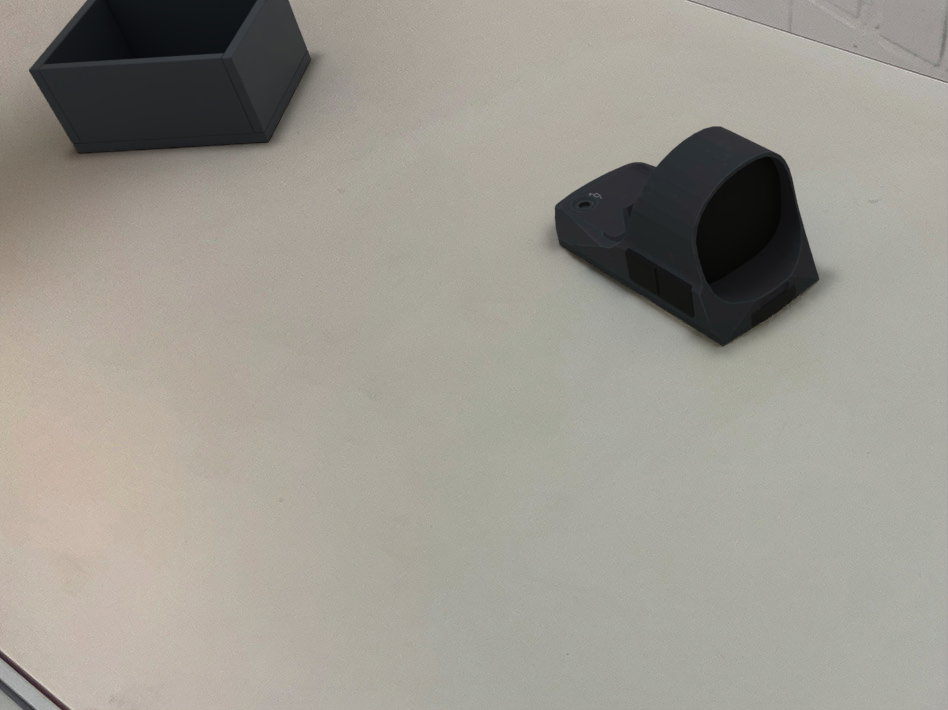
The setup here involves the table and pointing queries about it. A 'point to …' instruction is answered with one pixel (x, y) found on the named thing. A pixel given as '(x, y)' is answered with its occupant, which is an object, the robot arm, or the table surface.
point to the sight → (697, 232)
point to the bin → (172, 72)
